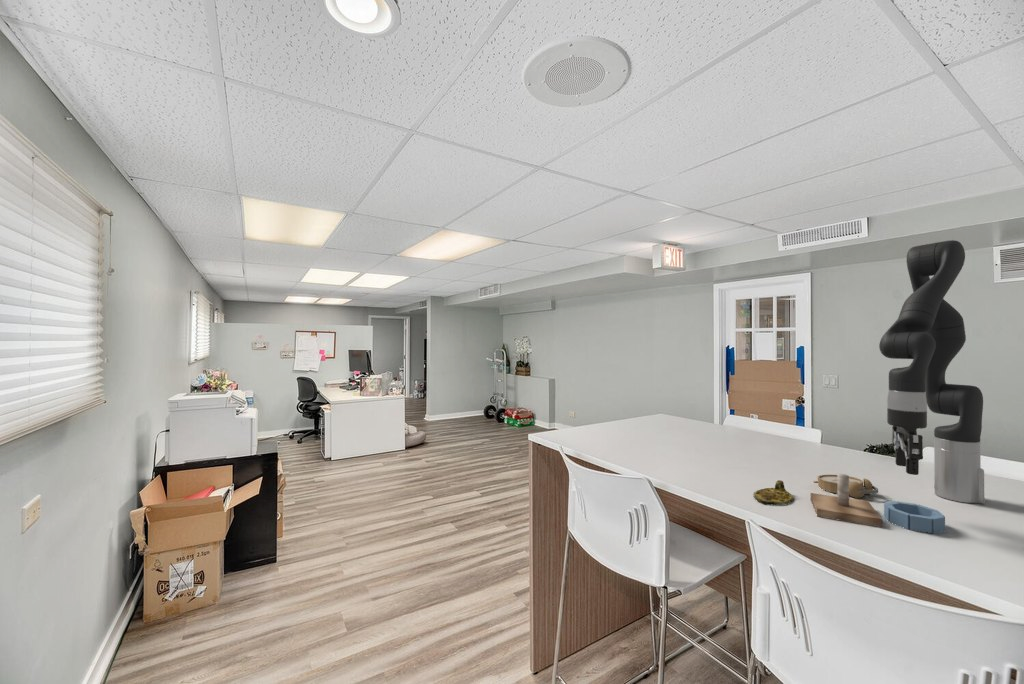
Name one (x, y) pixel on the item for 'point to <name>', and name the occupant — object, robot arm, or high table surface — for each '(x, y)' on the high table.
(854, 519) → the wooden peg stand
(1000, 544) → the high table surface
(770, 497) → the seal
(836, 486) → the alarm clock
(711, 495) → the high table surface
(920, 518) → the rubber loop
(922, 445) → the robot arm
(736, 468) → the high table surface
